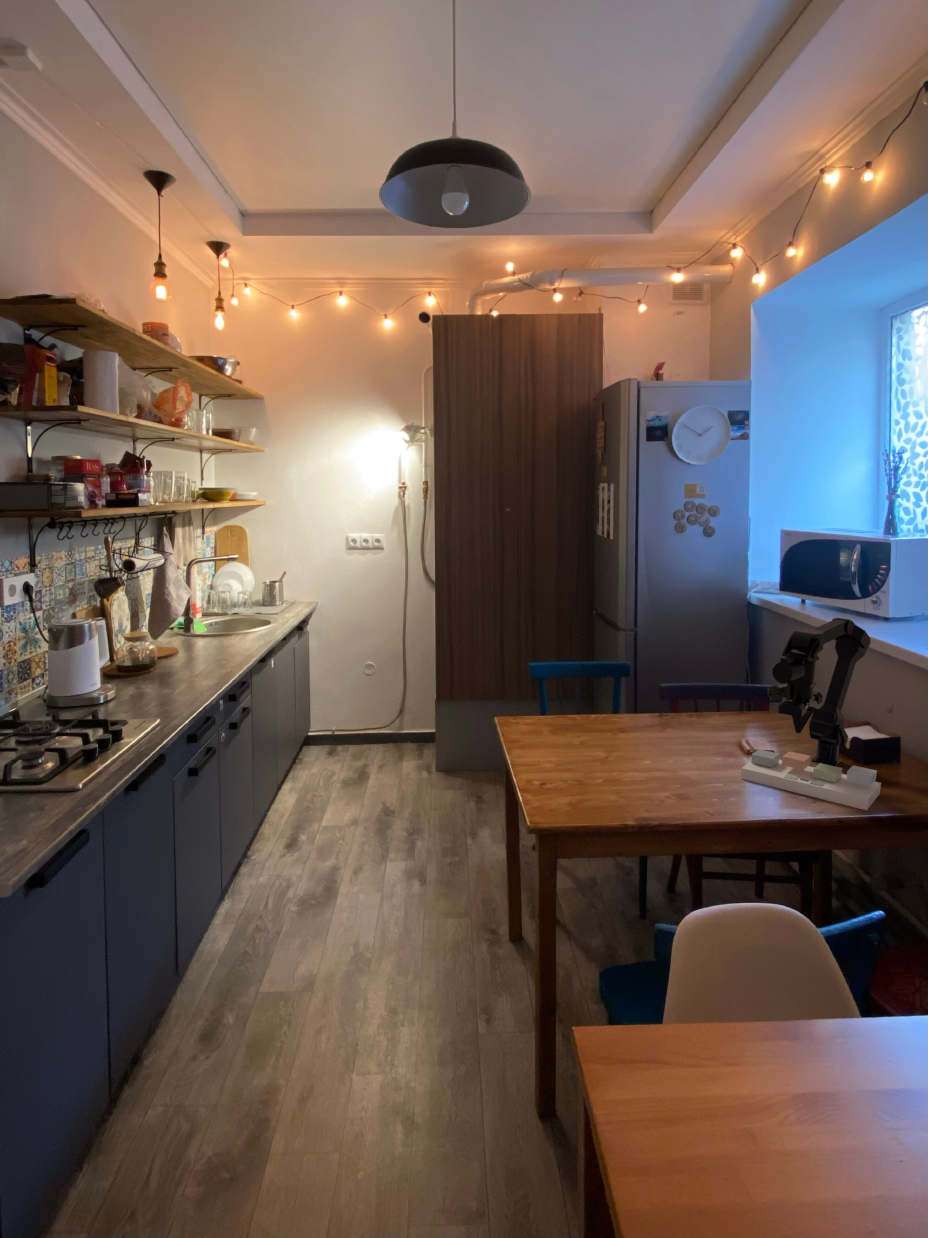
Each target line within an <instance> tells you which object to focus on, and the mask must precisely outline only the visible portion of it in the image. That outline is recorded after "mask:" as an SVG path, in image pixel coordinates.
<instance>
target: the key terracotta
mask: <svg viewBox="0 0 928 1238" xmlns="http://www.w3.org/2000/svg"><path fill="white" fill-rule="evenodd" d="M811 757H812V756H811V755H808V754H803V753H799V752H793V751H789V750H788V752H786V753H785V754H784V755H782V757H781V758H782V759H781V760H782V765H784V766H788V767H792V768H796V769H801V770H804V769H805V768H807V767H808V766H810V765H811V760H812V758H811Z"/></svg>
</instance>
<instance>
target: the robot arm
mask: <svg viewBox="0 0 928 1238" xmlns="http://www.w3.org/2000/svg"><path fill="white" fill-rule="evenodd" d="M833 640H834V641H835V644H834V648H835V649H834V650H835V653H836V655H837V659H836V662H835V666H834V669H833V673H832V675H831V679H830V682H829V685H828V688H827V692H826V694H825V698H824V702H823V697H824V696H823V694H822V693H821V692H820V691H815V690H814V687H815V686H817V681H816V680H815V675H816V674H815V673H816V662H817V661H819V660H820V657H819V656H818V654H819V653H820V652H821V651H823V650H824V645H825V644H827V643H829V642H832V641H833ZM870 645H871V637H870V636H869V634H868V632H867V631H866V630H865V629H863V628H861V627H860V626H858V625H857V624H856V623H855V622H854V621H853V620H851V619H849V618H843V617H834V618H832V619H831V620H830V621H828V622H826V623H824V624H821V625H819V626H818V627H817V626H816V627H815V628H813V629H798V630H795V631H794V632H793V633H792V634H791V635H790V636H789V639H788V641H787V643H786V645H785V646H784V648H783V652H782V653H781V656H782V657H780V661H779V662H777V663H776V664H775V665H773V668H772V670H771V671H772V672H771V673H772V676H773V678H774V680H775V681H776V682H777V683H778V684H775V685H770V686H769V687H768V688H767V690H766V691H767V693H766V695H767V696H768V697H769V700H771V701H775V700H776V699H783V698H785V700H784V701H783V702H781V703H779V704H778V705H777V713H778V714H782V715H786V716H791V717H792V721H793V728H794V731H795V733H796V734H801V733H802V731H803V730H804V728H805V727H806V724H807V723H808V721H809V724H808V728H809V729H808V731H809V736H810V739H812V740H816V751H815V756H814V757H813V758H811V762H813V763H818V764H819V763H822V764H827V765H831V766H835V767H837V765H839V764H840V763H841V761H842V759H841V758H838V757H839V750H840V749H839V748H840V747H841V746H842V747H844V746H846V744H847V743H848V740H849V735H848V733H847V731H846V730H845V728H844V724H845V719H844V715H843V712H842V709H843V706H844V704H845V700H846V697H847V692H848V689H849V686H850V683H851V680H852V676H853V673H854V670H855V668H856V663H858V662H859V661H860V660H861V659H862V658H864V657H865V656H866V654H867V651H868V648H869V647H870ZM813 701H815V702H816V704H818V705H820V704H822V705H821V706H820V707H819V708H816V707H813V706H811V703H812V702H813Z"/></svg>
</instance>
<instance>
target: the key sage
mask: <svg viewBox="0 0 928 1238" xmlns="http://www.w3.org/2000/svg"><path fill="white" fill-rule="evenodd" d="M842 774H843V767H840V766H831V765H827V764H822V763H818V764H817V765H816V766H814V770H813V777H814V778H818V779H822V780H826V781H830V782H834V783H836V782H837V781H838V780H839V779H840V778H841V777H842Z"/></svg>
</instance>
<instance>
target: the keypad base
mask: <svg viewBox="0 0 928 1238" xmlns="http://www.w3.org/2000/svg"><path fill="white" fill-rule="evenodd" d="M814 768H815V766H810V765H809V766H808V767H807V768H805V769H804V770H801V769H796V768H792V767H788V766H784V765H782V759H779V762H778V763H777V764H776V765H775V766H773V767H767V766H763V765H759V764H755V763H751V760H750V761H749V762H748V763H747V764H745V765H744V766H742V767H741V771H740V779H741V780H745V781H748V782H753V783H757V784H761V785H765V786H769V787H772V788H776V789H781V790H786V791H789V792H792V793H796V794H799V795H804V796H809V797H812V798H815V799H819V800H824V801H828V802H832V803H836V804H839V805H844V806H847V807H851V808H856V809H859V810H864V811H868V810H869V808H870V807H871V805H872V804H873V803H874V802H875V801H876V799H877V798H878V797H879V796H880V795H881V785H882V782H878V781H876V780H875V781H874V783H873V784H872V785H871V786H869V785H865V784H860V783H856V782H852V781H848V780H846V779H847V774H845V773H842V777H841V778H840V779H839V780H838V781H837V782H836V783H834V782H830V781H826V780H822V779H818V778H814V777H813V770H814Z"/></svg>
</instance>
